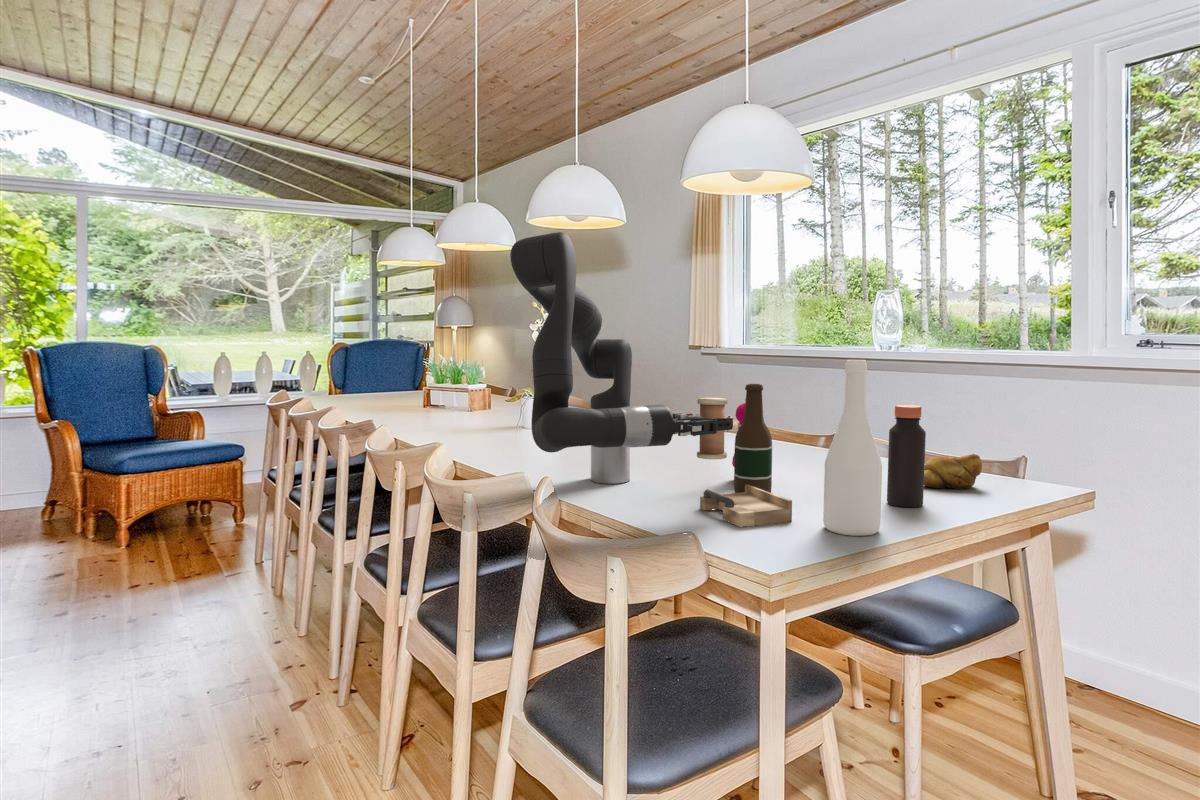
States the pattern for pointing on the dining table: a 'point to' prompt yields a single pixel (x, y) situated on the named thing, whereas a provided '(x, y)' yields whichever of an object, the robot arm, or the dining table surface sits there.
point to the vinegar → (906, 458)
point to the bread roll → (952, 471)
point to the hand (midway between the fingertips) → (724, 422)
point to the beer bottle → (753, 445)
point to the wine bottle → (853, 465)
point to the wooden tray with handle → (749, 506)
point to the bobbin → (709, 442)
